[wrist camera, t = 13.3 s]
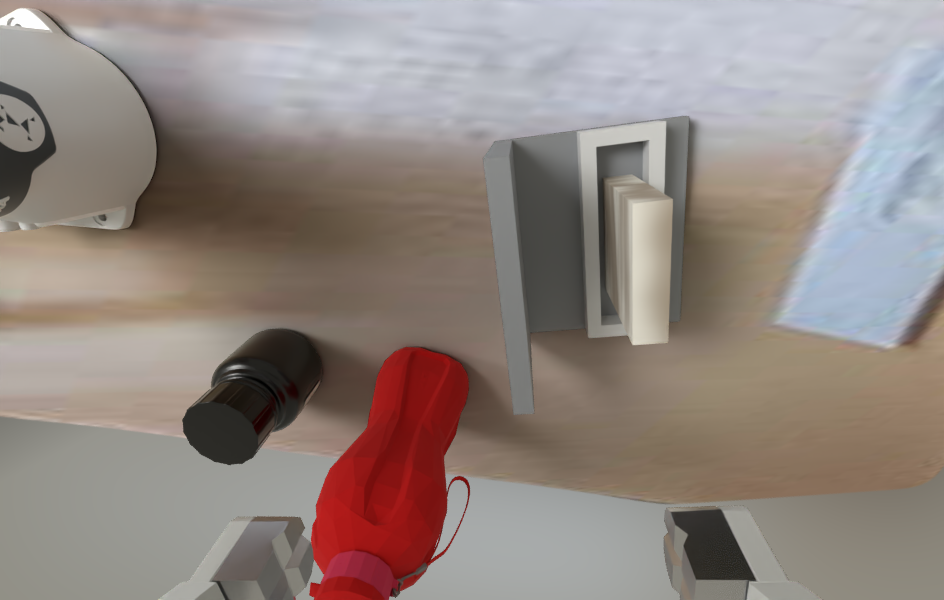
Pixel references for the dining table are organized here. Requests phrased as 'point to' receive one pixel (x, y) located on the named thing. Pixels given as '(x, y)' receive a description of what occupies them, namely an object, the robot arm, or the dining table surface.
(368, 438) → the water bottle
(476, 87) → the dining table surface
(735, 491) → the dining table surface
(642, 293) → the door panel
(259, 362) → the ink bottle
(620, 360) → the dining table surface
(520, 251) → the grey tablet stand
